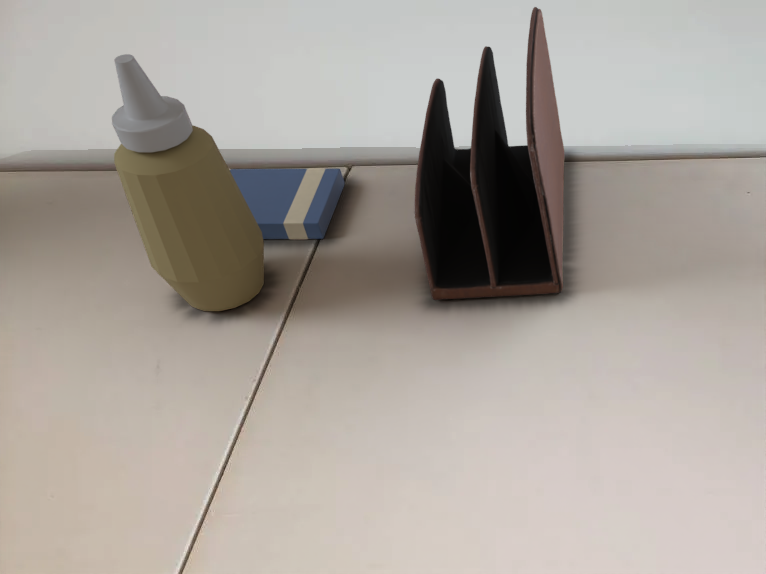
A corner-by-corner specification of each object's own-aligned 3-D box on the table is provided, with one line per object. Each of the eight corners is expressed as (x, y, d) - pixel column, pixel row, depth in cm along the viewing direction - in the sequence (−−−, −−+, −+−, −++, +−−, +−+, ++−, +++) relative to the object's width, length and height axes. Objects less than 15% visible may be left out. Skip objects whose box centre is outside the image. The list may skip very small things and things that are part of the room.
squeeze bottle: (148, 314, 80) (28, 82, 66) (206, 251, 85) (105, 23, 71) (246, 330, 79) (144, 97, 65) (298, 265, 84) (214, 36, 70)
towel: (204, 184, 91) (198, 168, 90) (345, 184, 91) (340, 167, 90) (174, 240, 86) (167, 223, 85) (323, 239, 86) (318, 223, 85)
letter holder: (565, 155, 94) (544, -11, 83) (563, 296, 82) (539, 122, 71) (450, 161, 94) (415, -5, 83) (431, 303, 81) (386, 129, 70)
